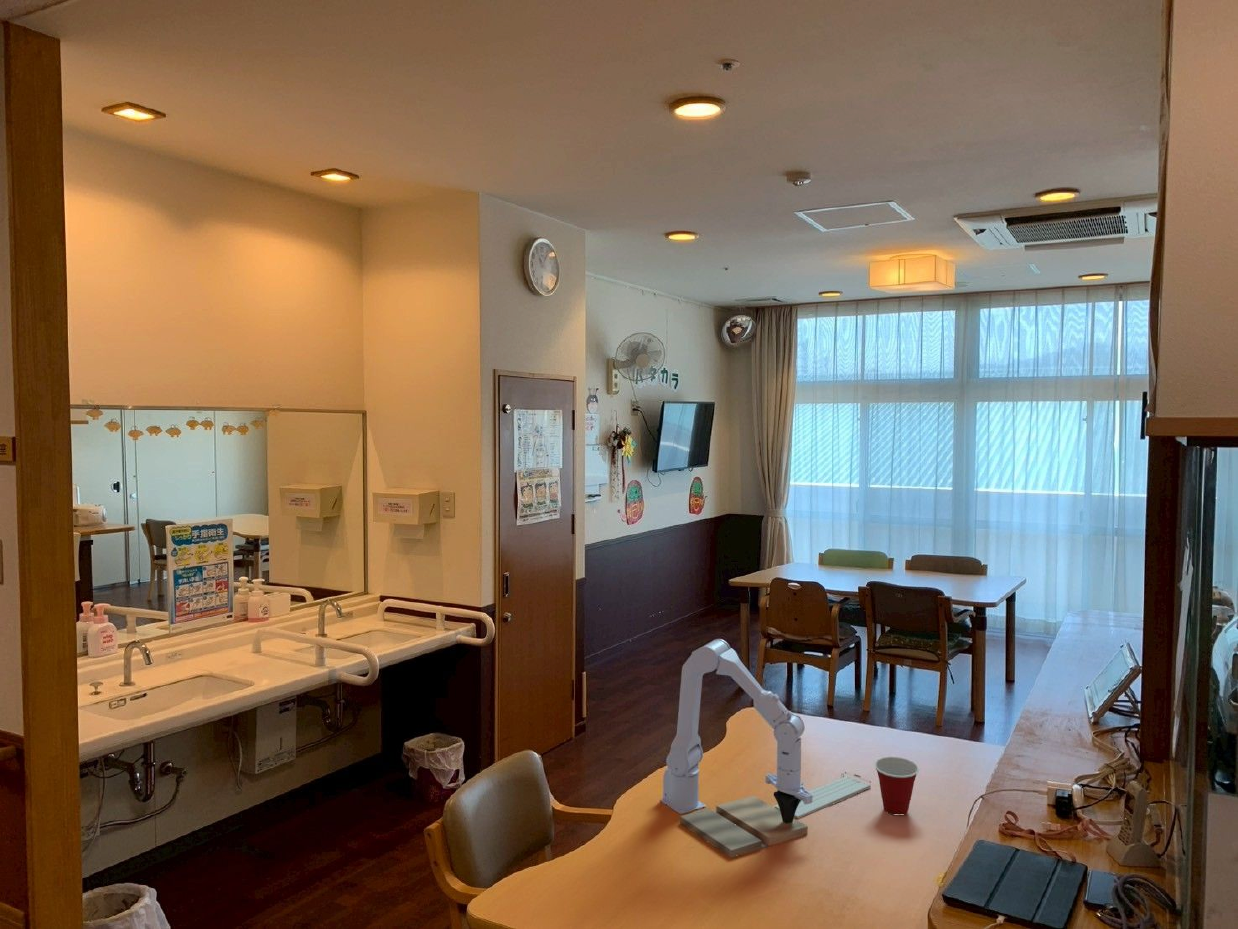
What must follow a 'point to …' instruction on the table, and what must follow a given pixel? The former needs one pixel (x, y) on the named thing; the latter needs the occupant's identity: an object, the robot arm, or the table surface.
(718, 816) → the floor panel
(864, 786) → the baseboard
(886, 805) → the plastic cup
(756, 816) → the plank
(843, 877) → the table surface
